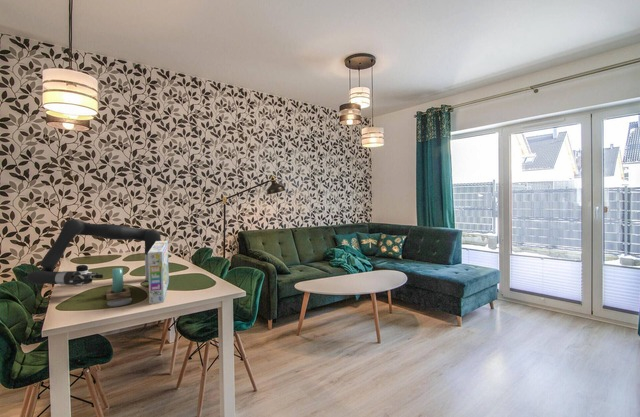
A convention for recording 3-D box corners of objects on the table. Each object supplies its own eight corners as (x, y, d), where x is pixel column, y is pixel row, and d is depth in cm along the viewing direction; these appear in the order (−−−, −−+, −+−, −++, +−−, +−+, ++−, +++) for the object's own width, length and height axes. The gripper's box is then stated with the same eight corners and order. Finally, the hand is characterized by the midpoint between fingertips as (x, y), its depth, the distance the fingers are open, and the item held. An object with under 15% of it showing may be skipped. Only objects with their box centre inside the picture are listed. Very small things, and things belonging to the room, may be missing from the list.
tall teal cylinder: (123, 293, 181) (122, 267, 180) (123, 295, 177) (123, 269, 176) (112, 295, 178) (111, 268, 178) (113, 297, 174) (112, 270, 173)
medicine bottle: (82, 286, 196) (81, 266, 196) (72, 285, 198) (72, 266, 197) (92, 282, 203) (92, 264, 203) (83, 282, 205) (82, 263, 204)
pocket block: (128, 291, 185) (128, 287, 185) (130, 296, 176) (130, 291, 176) (106, 294, 179) (106, 290, 179) (106, 300, 170) (106, 295, 170)
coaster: (131, 298, 173) (131, 296, 173) (133, 303, 164) (133, 301, 164) (106, 302, 167) (106, 300, 167) (107, 308, 158) (107, 306, 158)
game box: (157, 283, 201) (155, 241, 200) (169, 282, 203) (168, 240, 202) (148, 304, 163) (147, 251, 162) (163, 302, 166) (162, 251, 165)
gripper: (57, 274, 170) (87, 274, 170) (77, 268, 184) (105, 268, 184) (57, 288, 170) (88, 288, 170) (78, 281, 184) (106, 281, 184)
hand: (97, 278), depth 177 cm, fingers open, 8 cm apart
